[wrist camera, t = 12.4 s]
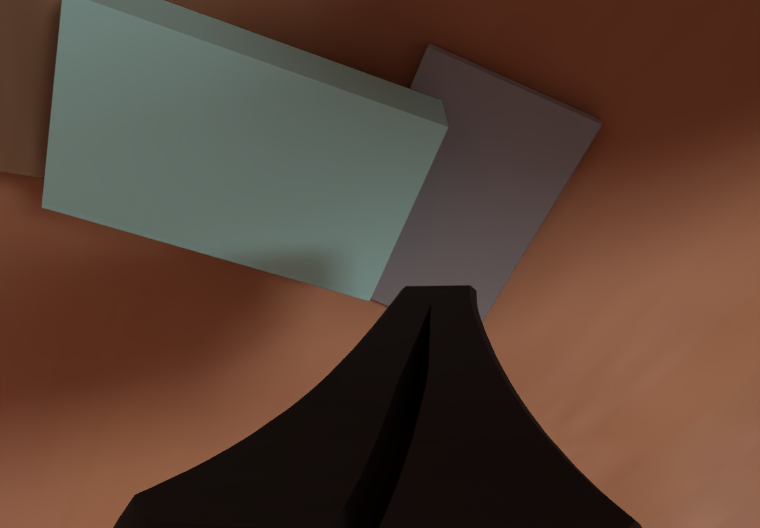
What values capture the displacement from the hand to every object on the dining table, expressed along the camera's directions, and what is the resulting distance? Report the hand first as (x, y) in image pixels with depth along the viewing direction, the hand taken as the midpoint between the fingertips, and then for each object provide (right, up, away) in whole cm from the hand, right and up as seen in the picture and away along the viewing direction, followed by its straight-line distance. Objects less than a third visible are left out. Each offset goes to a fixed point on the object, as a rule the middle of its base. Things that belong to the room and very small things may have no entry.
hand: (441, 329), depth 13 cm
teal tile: (-1, +3, +4) cm, 5 cm away
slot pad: (+1, +3, +5) cm, 6 cm away
